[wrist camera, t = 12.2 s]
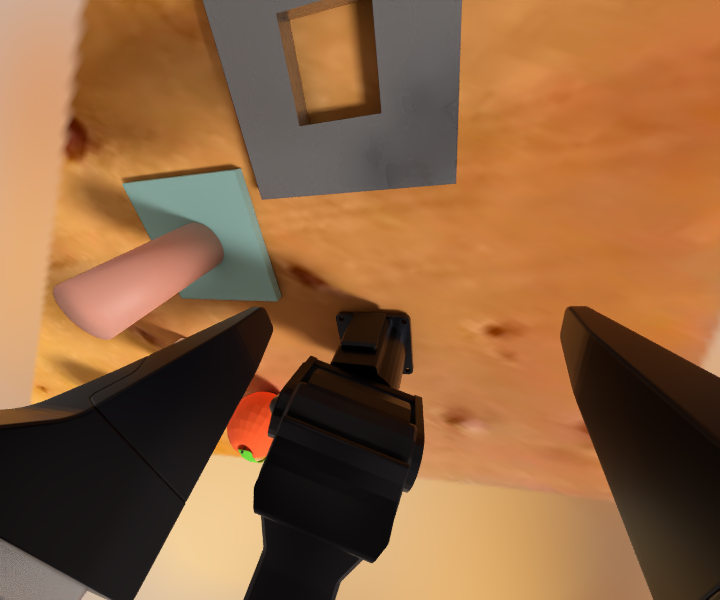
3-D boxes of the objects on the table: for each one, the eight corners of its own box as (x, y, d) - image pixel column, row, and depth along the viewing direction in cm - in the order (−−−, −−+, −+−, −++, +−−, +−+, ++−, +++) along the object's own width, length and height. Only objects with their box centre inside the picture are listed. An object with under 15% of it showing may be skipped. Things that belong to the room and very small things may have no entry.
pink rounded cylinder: (230, 265, 26) (127, 341, 18) (195, 266, 27) (84, 337, 19) (211, 220, 24) (85, 284, 16) (174, 223, 25) (39, 283, 17)
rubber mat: (281, 296, 27) (277, 301, 27) (187, 294, 31) (181, 298, 30) (240, 168, 22) (234, 170, 21) (130, 181, 25) (121, 183, 24)
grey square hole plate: (456, 178, 18) (455, 183, 17) (272, 194, 22) (261, 199, 21) (466, -173, 12) (468, -205, 10) (201, -64, 15) (179, -78, 14)
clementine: (310, 425, 38) (284, 482, 32) (264, 419, 40) (232, 472, 34) (290, 380, 34) (257, 436, 28) (241, 377, 36) (200, 428, 30)
